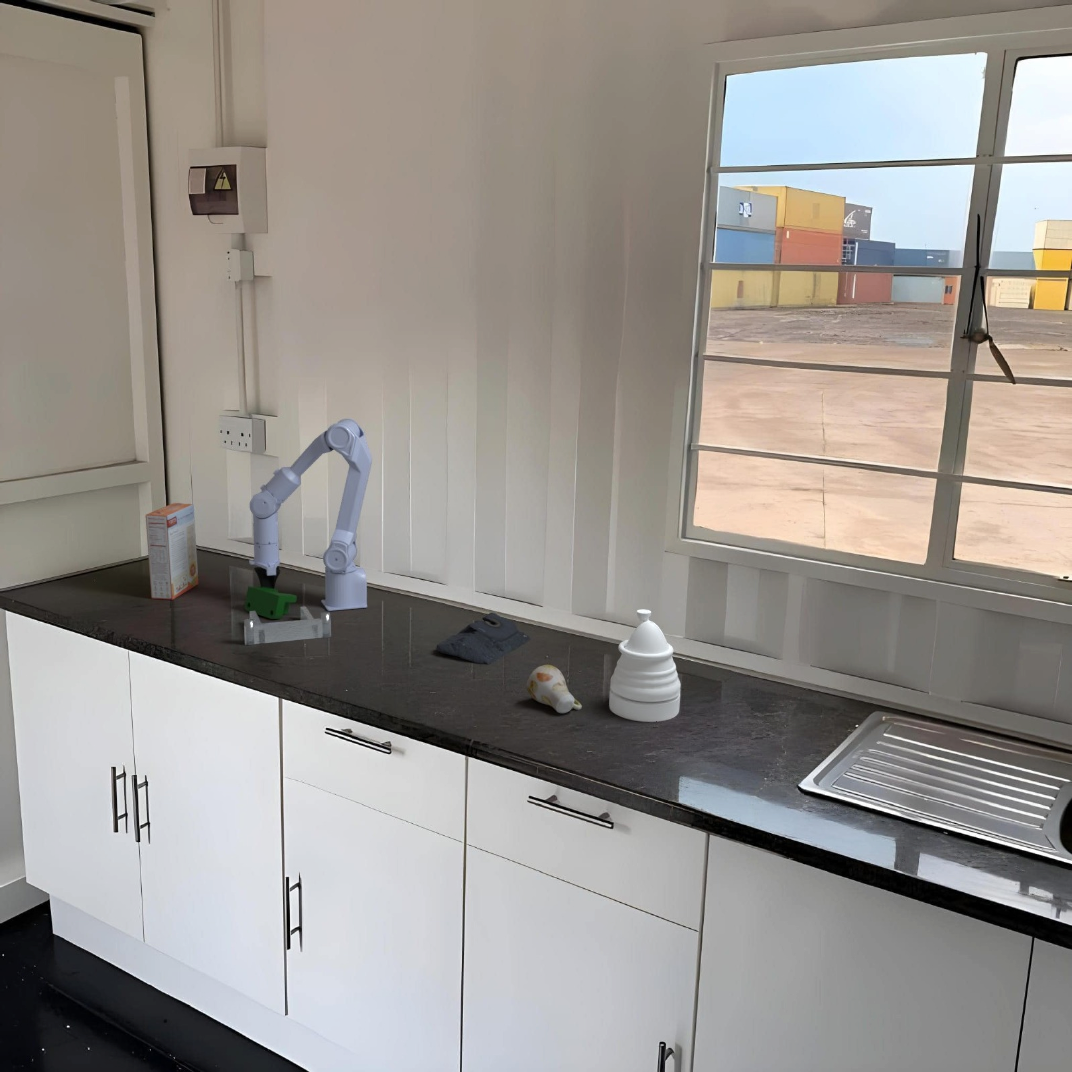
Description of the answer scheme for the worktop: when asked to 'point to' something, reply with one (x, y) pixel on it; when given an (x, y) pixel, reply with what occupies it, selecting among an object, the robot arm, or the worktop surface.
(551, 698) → the mug
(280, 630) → the dock
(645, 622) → the honey pot
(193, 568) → the cracker box
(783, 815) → the worktop surface
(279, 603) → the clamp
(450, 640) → the folded dark cloth
